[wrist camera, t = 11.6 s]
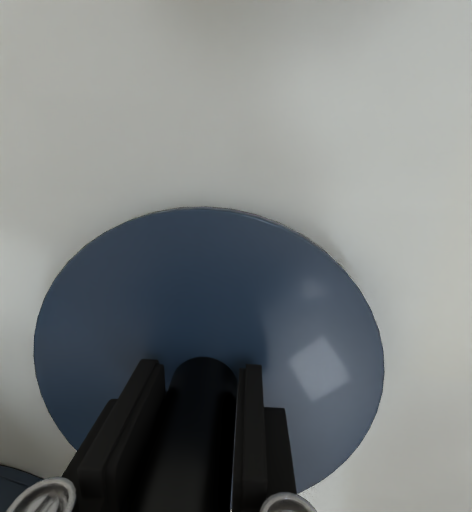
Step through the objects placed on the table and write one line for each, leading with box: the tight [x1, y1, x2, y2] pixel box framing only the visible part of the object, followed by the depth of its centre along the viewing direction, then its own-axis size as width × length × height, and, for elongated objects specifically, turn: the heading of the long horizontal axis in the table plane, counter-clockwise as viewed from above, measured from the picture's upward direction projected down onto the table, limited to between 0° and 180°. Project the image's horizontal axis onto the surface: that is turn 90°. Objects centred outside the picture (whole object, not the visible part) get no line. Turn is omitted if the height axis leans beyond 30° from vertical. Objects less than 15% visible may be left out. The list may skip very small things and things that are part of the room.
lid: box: [34, 206, 384, 512], centre depth 9 cm, size 13×13×7 cm
